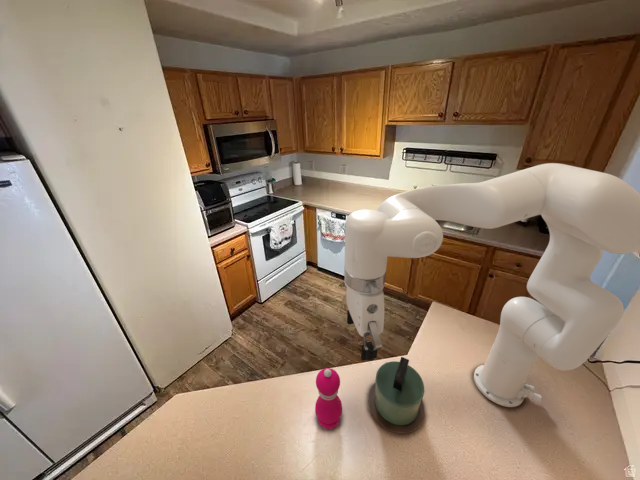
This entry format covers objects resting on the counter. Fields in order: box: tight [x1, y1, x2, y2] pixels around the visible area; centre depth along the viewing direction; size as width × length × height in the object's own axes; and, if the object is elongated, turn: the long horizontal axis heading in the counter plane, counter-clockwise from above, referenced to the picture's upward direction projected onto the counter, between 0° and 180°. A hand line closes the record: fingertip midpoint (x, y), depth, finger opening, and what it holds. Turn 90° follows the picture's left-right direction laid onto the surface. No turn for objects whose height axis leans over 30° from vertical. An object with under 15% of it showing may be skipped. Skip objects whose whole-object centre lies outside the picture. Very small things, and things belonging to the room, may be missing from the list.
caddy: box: [374, 356, 425, 425], centre depth 69 cm, size 12×12×15 cm
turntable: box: [368, 381, 425, 435], centre depth 73 cm, size 15×15×1 cm
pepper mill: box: [314, 367, 343, 430], centre depth 66 cm, size 7×7×20 cm
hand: (360, 339), depth 56 cm, fingers open, 9 cm apart
